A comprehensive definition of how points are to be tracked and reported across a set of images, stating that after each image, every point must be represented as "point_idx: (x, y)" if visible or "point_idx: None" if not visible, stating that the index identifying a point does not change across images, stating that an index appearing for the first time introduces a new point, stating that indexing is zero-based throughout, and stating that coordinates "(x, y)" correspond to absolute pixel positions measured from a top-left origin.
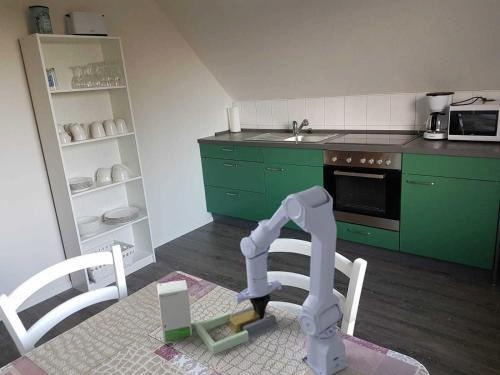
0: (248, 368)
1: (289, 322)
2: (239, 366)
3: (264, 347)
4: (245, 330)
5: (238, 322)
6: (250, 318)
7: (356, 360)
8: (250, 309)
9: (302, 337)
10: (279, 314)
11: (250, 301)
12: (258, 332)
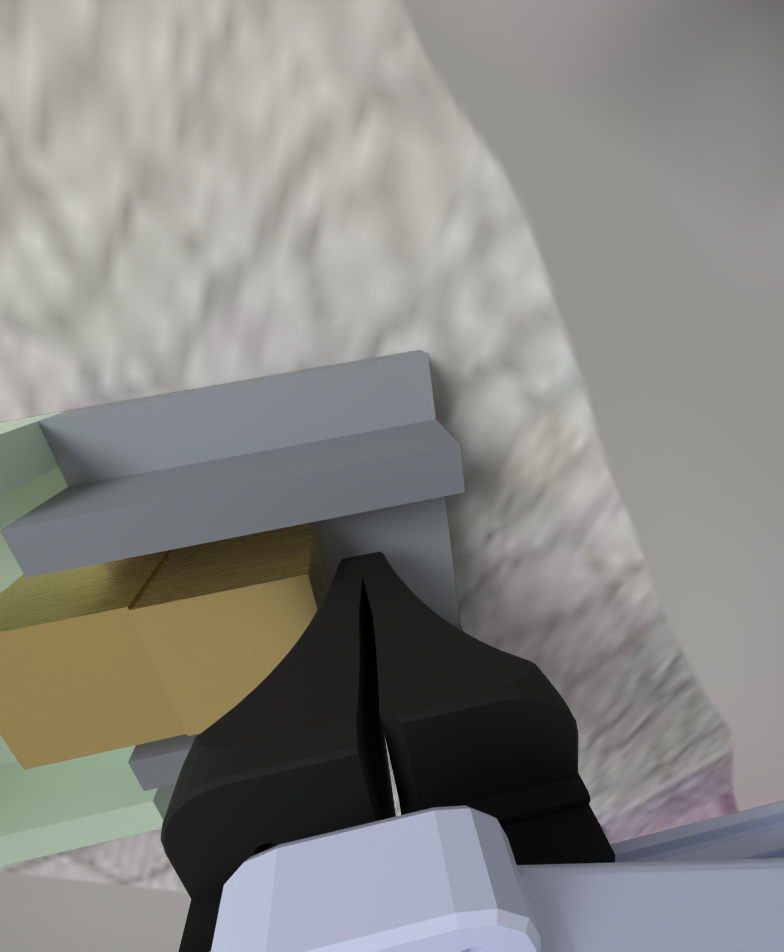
0: (151, 878)
1: (570, 600)
2: (98, 860)
3: None
4: (146, 805)
5: (75, 738)
6: None
7: None
8: (289, 520)
9: None
10: (566, 479)
11: (260, 687)
12: None
